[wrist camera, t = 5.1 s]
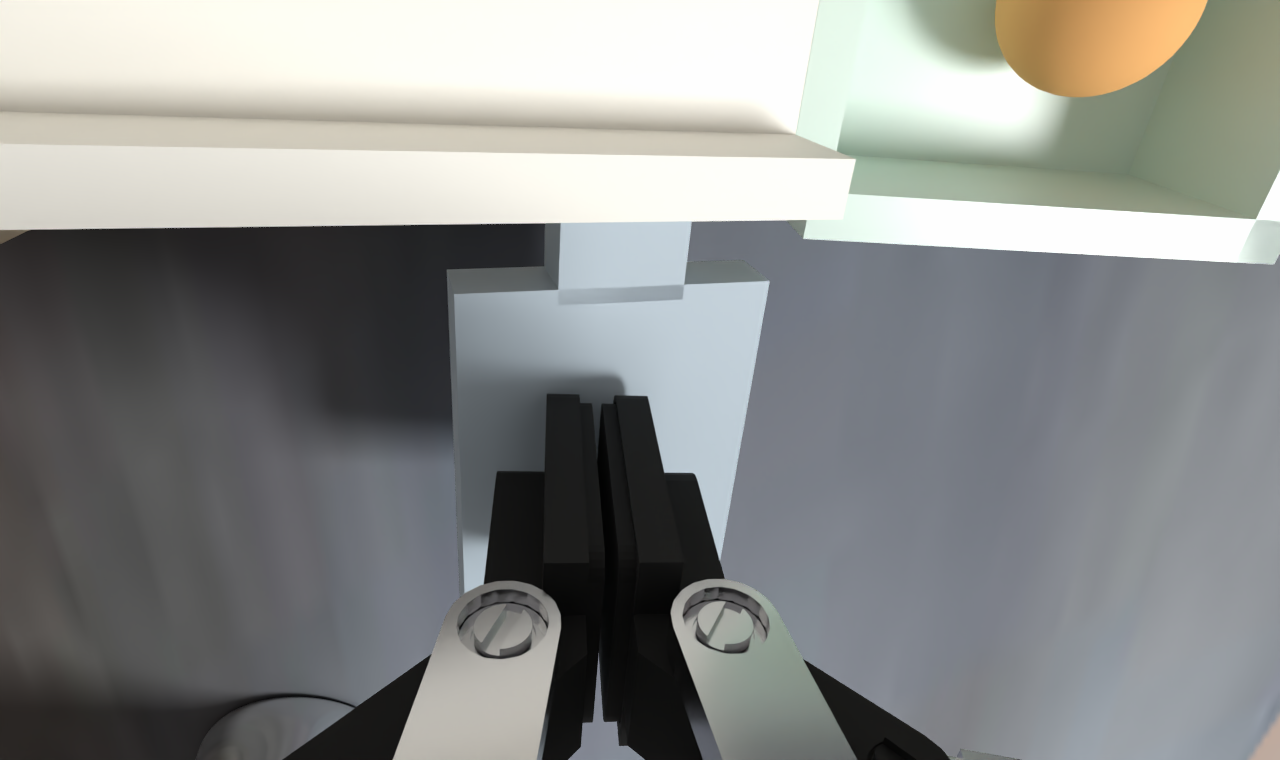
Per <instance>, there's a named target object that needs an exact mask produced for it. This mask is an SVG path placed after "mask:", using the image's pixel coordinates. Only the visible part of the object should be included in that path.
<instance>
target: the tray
mask: <svg viewBox="0 0 1280 760" xmlns="http://www.w3.org/2000/svg"><path fill="white" fill-rule="evenodd" d="M995 8H996V0H819V6H818V11H817V17H816V22H815V28H814V34H813V39H812V45H811V51H810V56H809V62H808V68H807V73H806V79H805V84H804V90H803V96H802V101H801V107H800V113H799V118H798V124H797V130H796V135H798V136H800V137H803V138H805V139H808V140H810V141H813V142H815V143H818V144H820V145H822V146H825V147H827V148H830V149H832V150H835V151H837V152H840V153H842V154H845V155H847V156H849V157H852V158H854V159H856V161H855V166H854V170H853V175H852V179H851V184H850V189H849V193H848V198H847V202H846V207H845V212H844V216H843V219H838V220H786V221H787V222H788V223H789V224H790V225H791V226H792V227H793V228H794V229H795V230H796V231H797V233H798V234H799V235H800V236H801V237H802V238H803V239H817V240H835V241H854V242H872V243H890V244H908V245H927V246H945V247H963V248H981V249H1000V250H1018V251H1036V252H1055V253H1073V254H1091V255H1109V256H1128V257H1146V258H1164V259H1182V260H1201V261H1219V262H1237V263H1255V264H1274V263H1275V261H1276V259H1277V257H1278V255H1279V253H1280V0H1208V1H1207V4H1206V6H1205V9H1204V11H1203V13H1202V16H1201V18H1200V20H1199V21H1198V23H1197V25H1196V27H1195V28H1194V30H1193V31H1192V33H1191V34H1190V36H1189V37H1188V39H1187V40H1186V41H1185V42H1184V44H1183V45H1182V46H1181V47H1180V48H1179V49H1178V51H1177V52H1176V53H1175V54H1174V55H1173V56H1172V57H1171V58H1170V59H1169V60H1167V61H1166V62H1165V63H1164V64H1163V65H1162V66H1160V67H1159V68H1158V69H1156V70H1155V71H1153V72H1152V73H1151V74H1149V75H1148V76H1146V77H1145V78H1143V79H1141V80H1139V81H1138V82H1136V83H1133V84H1131V85H1129V86H1127V87H1125V88H1122V89H1120V90H1117V91H1113V92H1110V93H1106V94H1103V95H1097V96H1091V97H1065V96H1059V95H1054V94H1051V93H1048V92H1045V91H1042V90H1039V89H1037V88H1035V87H1034V86H1032V85H1030V84H1028V83H1027V82H1025V81H1024V80H1023V79H1022V78H1020V77H1019V76H1018V75H1017V74H1016V73H1015V72H1014V70H1013V69H1012V68H1011V67H1010V66H1009V64H1008V63H1007V61H1006V59H1005V58H1004V56H1003V54H1002V51H1001V49H1000V46H999V44H998V40H997V36H996V29H995Z"/></svg>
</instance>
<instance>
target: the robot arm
mask: <svg viewBox="0 0 1280 760" xmlns="http://www.w3.org/2000/svg"><path fill="white" fill-rule="evenodd" d="M598 653H599V662H600V677H601V693H602V708H603V719H604V722H614V721H617V726H618V738H619V746H629V747H630V748H632V749H633V750H634V751H635V752H636V753H638V754H639V755H640V756H641V757H643V758H644V759H645V760H1020V759H1015V758H1009V757H1003V756H998V755H992V754H987V753H981V752H976V751H970V750H964V749H960V751H959V753H958V755H957V757H952V756H947V755H946V754H945V752H944V751H943V750H942V749H941V748H940V747H939V746H937V745H936V744H935V743H933V742H932V741H931V740H930V739H928V738H927V737H926V736H925V735H923V734H921V733H920V732H918V731H917V730H915V729H913V728H912V727H910V726H909V725H907V724H906V723H904V722H902V721H901V720H899V719H898V718H896V717H894V716H893V715H891V714H890V713H888V712H886V711H885V710H883V709H882V708H880V707H878V706H877V705H875V704H874V703H872V702H871V701H869V700H867V699H866V698H864V697H863V696H861V695H859V694H858V693H856V692H855V691H853V690H851V689H850V688H848V687H847V686H845V685H844V684H842V683H840V682H839V681H837V680H836V679H834V678H832V677H831V676H829V675H828V674H826V673H824V672H823V671H821V670H820V669H818V668H817V667H815V666H813V665H812V664H810V663H809V662H807V661H805V660H804V659H803V658H802V656H801V654H800V653H799V651H798V649H797V647H796V645H795V643H794V641H793V640H792V638H791V636H790V634H789V632H788V630H787V628H786V627H785V625H784V623H783V621H782V619H781V617H780V616H779V614H778V612H777V610H776V609H775V608H774V606H773V605H772V604H771V602H770V601H769V600H768V599H767V598H766V597H764V596H763V595H762V594H761V593H759V592H758V591H757V590H755V589H753V588H751V587H749V586H747V585H744V584H742V583H740V582H735V581H731V580H726V579H725V578H724V574H723V571H722V567H721V564H720V560H719V556H718V553H717V549H716V546H715V542H714V538H713V535H712V531H711V528H710V524H709V520H708V517H707V513H706V510H705V506H704V502H703V499H702V495H701V492H700V488H699V484H698V481H697V478H696V476H695V474H694V473H664V469H663V464H662V460H661V455H660V450H659V446H658V441H657V437H656V432H655V427H654V423H653V418H652V413H651V409H650V404H649V400H648V396H629V395H615V396H614V400H613V404H605V403H602V405H601V414H600V428H599V443H598V457H597V453H596V442H595V430H594V418H593V407H592V403H580V396H579V394H547V399H546V434H545V469H544V471H497V473H496V480H495V489H494V498H493V506H492V515H491V524H490V532H489V541H488V550H487V559H486V567H485V576H484V584H483V585H480V586H478V587H476V588H474V589H472V590H470V591H468V592H466V593H464V594H463V595H462V596H461V597H460V598H459V599H458V600H457V601H456V602H454V603H453V605H452V606H451V608H450V610H449V612H448V613H447V615H446V617H445V619H444V622H443V625H442V628H441V630H440V633H439V636H438V638H437V641H436V644H435V647H434V649H433V652H432V654H431V655H430V656H428V657H427V658H425V659H424V660H423V661H421V662H420V663H418V664H417V665H415V666H414V667H413V668H411V669H410V670H408V671H407V672H406V673H404V674H403V675H401V676H400V677H398V678H397V679H396V680H394V681H393V682H391V683H390V684H389V685H387V686H386V687H384V688H383V689H381V690H380V691H379V692H377V693H376V694H374V695H373V696H372V697H370V698H369V699H367V700H366V701H365V702H363V703H362V704H360V705H359V706H357V707H356V708H355V709H353V710H352V711H350V712H349V713H348V714H346V715H345V716H343V717H342V718H340V719H339V720H338V721H336V722H335V723H333V724H332V725H331V726H329V727H328V728H326V729H325V730H323V731H322V732H321V733H319V734H318V735H316V736H315V737H314V738H312V739H311V740H309V741H308V742H306V743H305V744H304V745H302V746H301V747H299V748H298V749H297V750H295V751H294V752H292V753H291V754H290V755H288V756H287V757H285V758H284V759H282V760H568V759H569V758H570V757H571V756H572V755H573V754H574V753H575V752H576V751H577V750H578V749H579V748H580V747H581V735H582V723H586V722H593V713H594V701H595V689H596V677H597V665H598Z"/></svg>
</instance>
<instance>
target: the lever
mask: <svg viewBox="0 0 1280 760" xmlns="http://www.w3.org/2000/svg"><path fill="white" fill-rule="evenodd" d="M818 6H819V0H0V230H37V229H117V228H197V227H277V226H357V225H438V224H518V223H545V249H544V266H542V267H510V268H478V269H447V289H448V314H449V339H450V365H451V390H452V415H453V440H454V465H455V491H456V516H457V541H458V566H459V592H460V597H461V596H462V595H463V594H464V593H466V592H468V591H470V590H472V589H474V588H476V587H478V586H480V585H483V584H484V576H485V567H486V559H487V550H488V541H489V532H490V524H491V515H492V506H493V498H494V489H495V480H496V473H497V471H544V469H545V434H546V399H547V394H579V396H580V403H592V407H593V418H594V430H595V442H596V453H597V457H598V443H599V428H600V414H601V405H602V403H605V404H613V400H614V396H615V395H629V396H648V400H649V404H650V409H651V413H652V418H653V423H654V427H655V432H656V437H657V441H658V446H659V450H660V455H661V460H662V464H663V469H664V473H694V474H695V476H696V478H697V481H698V484H699V488H700V492H701V495H702V499H703V502H704V506H705V510H706V513H707V517H708V520H709V524H710V528H711V531H712V535H713V538H714V542H715V546H716V549H717V553H718V556H719V560H720V558H721V552H722V547H723V541H724V535H725V530H726V524H727V518H728V513H729V507H730V502H731V496H732V490H733V485H734V479H735V473H736V468H737V462H738V456H739V451H740V445H741V440H742V434H743V428H744V423H745V417H746V411H747V406H748V400H749V394H750V389H751V383H752V378H753V372H754V366H755V361H756V355H757V349H758V344H759V338H760V332H761V327H762V321H763V316H764V310H765V304H766V299H767V293H768V287H769V282H770V281H769V280H768V279H766V278H765V277H764V276H763V275H761V274H760V273H759V272H757V271H756V270H755V269H754V268H752V267H751V266H750V265H749V264H747V263H746V262H745V261H743V260H733V261H701V262H687V256H688V248H689V240H690V231H691V223H692V221H758V220H838V219H843V216H844V212H845V207H846V202H847V198H848V193H849V189H850V184H851V179H852V175H853V170H854V166H855V161H856V159H854V158H852V157H849V156H847V155H845V154H842V153H840V152H837V151H835V150H832V149H830V148H827V147H825V146H822V145H820V144H818V143H815V142H813V141H810V140H808V139H805V138H803V137H800V136H798V135H796V130H797V124H798V118H799V113H800V107H801V101H802V96H803V90H804V84H805V79H806V73H807V68H808V62H809V56H810V51H811V45H812V39H813V34H814V28H815V22H816V17H817V11H818Z"/></svg>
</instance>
